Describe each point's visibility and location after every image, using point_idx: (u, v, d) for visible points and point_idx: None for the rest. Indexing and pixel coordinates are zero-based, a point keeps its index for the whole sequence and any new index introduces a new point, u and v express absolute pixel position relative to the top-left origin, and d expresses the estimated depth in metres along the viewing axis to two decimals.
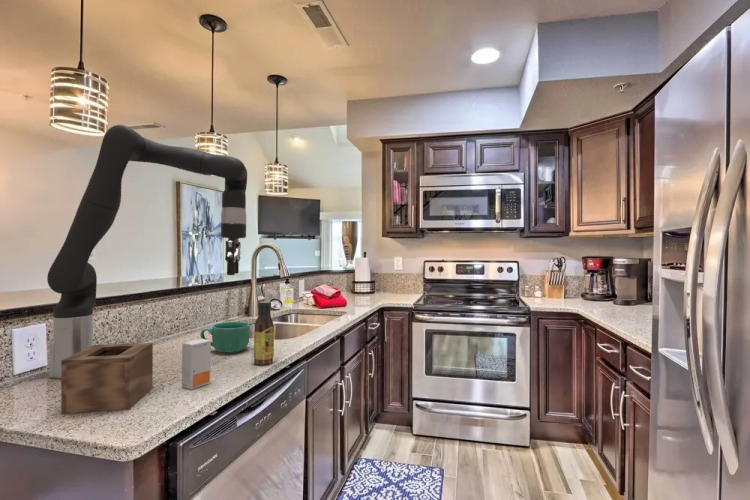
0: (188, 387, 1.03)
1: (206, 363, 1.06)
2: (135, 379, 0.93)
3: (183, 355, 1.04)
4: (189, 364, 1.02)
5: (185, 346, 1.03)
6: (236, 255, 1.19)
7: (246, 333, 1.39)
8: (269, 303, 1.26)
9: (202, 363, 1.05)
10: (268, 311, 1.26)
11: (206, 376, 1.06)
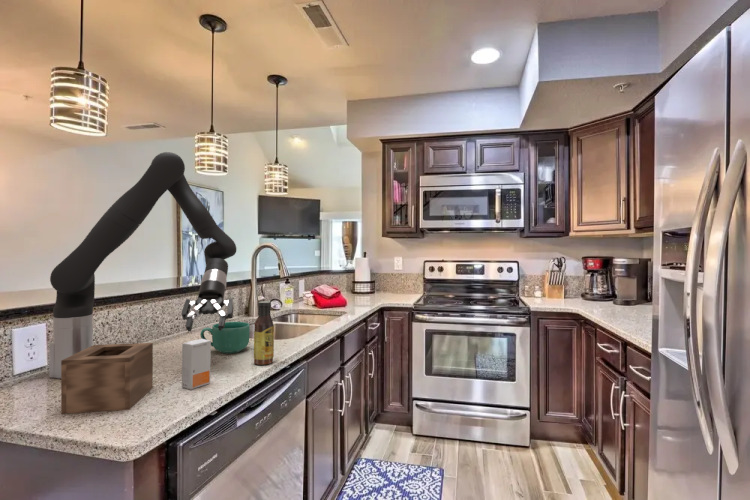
0: (188, 387, 1.03)
1: (206, 363, 1.06)
2: (135, 379, 0.93)
3: (183, 355, 1.04)
4: (189, 364, 1.02)
5: (185, 346, 1.03)
6: None
7: (246, 333, 1.39)
8: (269, 303, 1.26)
9: (202, 363, 1.05)
10: (268, 311, 1.26)
11: (206, 376, 1.06)
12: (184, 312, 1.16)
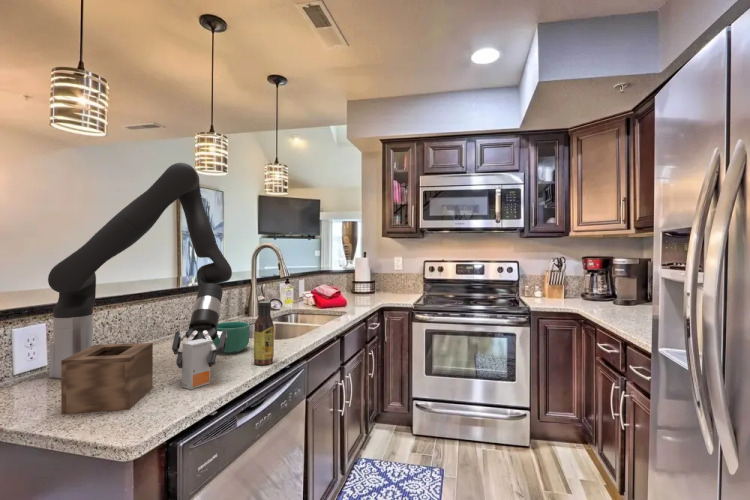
0: (188, 387, 1.03)
1: (206, 363, 1.06)
2: (135, 379, 0.93)
3: (183, 355, 1.04)
4: (189, 364, 1.02)
5: (185, 346, 1.03)
6: None
7: (246, 333, 1.39)
8: (269, 303, 1.26)
9: (202, 363, 1.05)
10: (268, 311, 1.26)
11: (206, 376, 1.06)
12: (175, 346, 1.06)
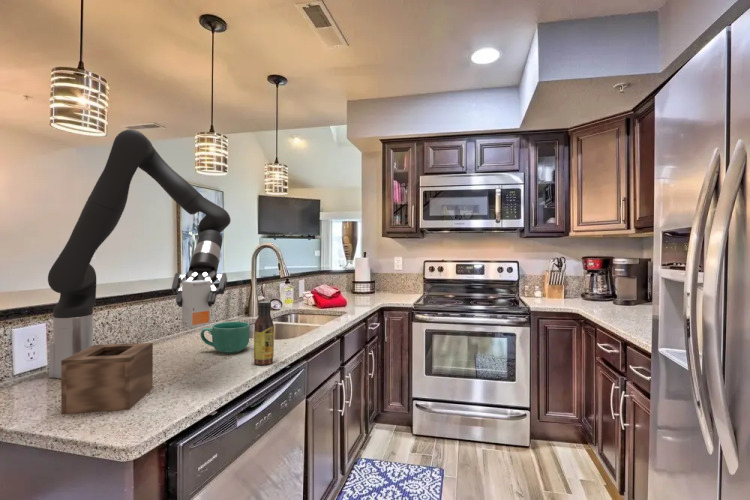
0: (188, 325, 1.03)
1: (206, 303, 1.06)
2: (135, 379, 0.93)
3: (183, 293, 1.04)
4: (189, 302, 1.02)
5: (185, 284, 1.03)
6: None
7: (246, 333, 1.39)
8: (269, 303, 1.26)
9: (202, 302, 1.05)
10: (268, 311, 1.26)
11: (206, 316, 1.06)
12: (175, 286, 1.06)
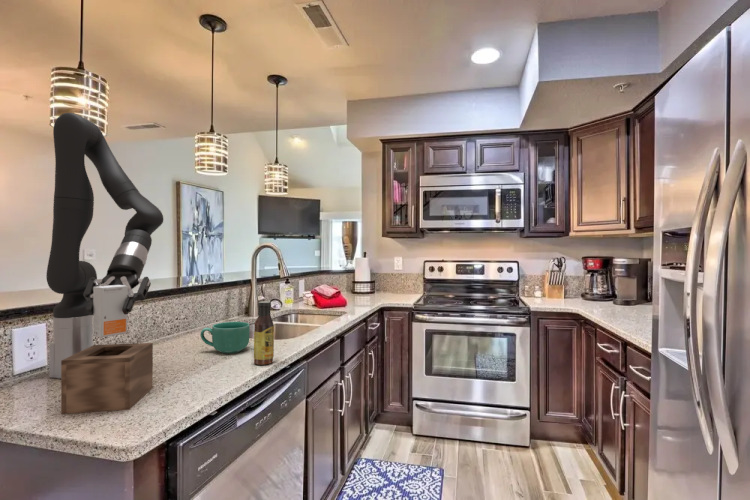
0: (99, 335, 0.92)
1: (121, 310, 0.96)
2: (135, 379, 0.93)
3: (94, 300, 0.94)
4: (99, 309, 0.92)
5: (96, 290, 0.93)
6: None
7: (246, 333, 1.39)
8: (269, 303, 1.26)
9: (116, 309, 0.95)
10: (268, 311, 1.26)
11: (122, 325, 0.96)
12: (87, 292, 0.96)
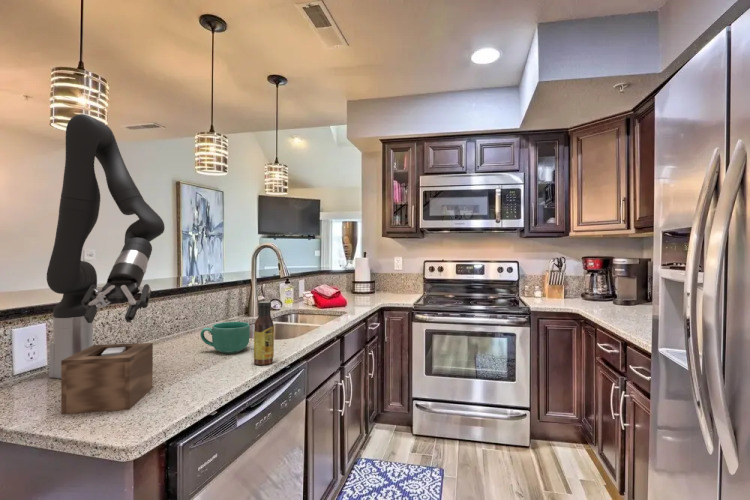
0: None
1: None
2: (135, 379, 0.93)
3: None
4: None
5: None
6: None
7: (246, 333, 1.39)
8: (269, 303, 1.26)
9: None
10: (268, 311, 1.26)
11: None
12: (85, 300, 0.96)
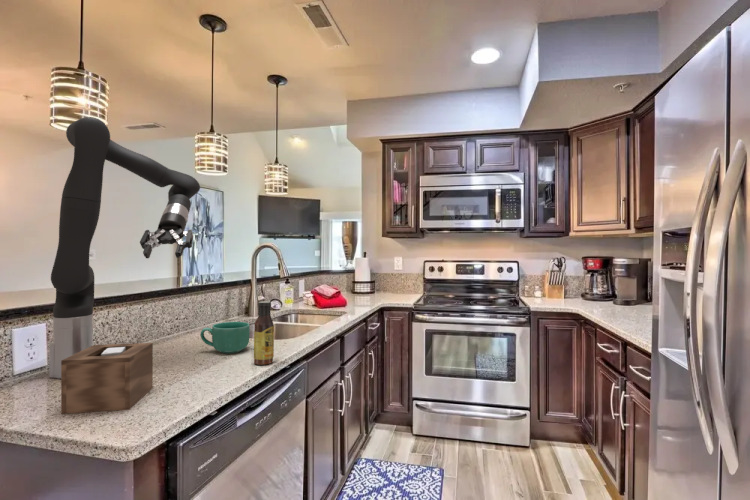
0: None
1: None
2: (135, 379, 0.93)
3: None
4: None
5: None
6: None
7: (246, 333, 1.39)
8: (269, 303, 1.26)
9: None
10: (268, 311, 1.26)
11: None
12: (142, 241, 1.18)
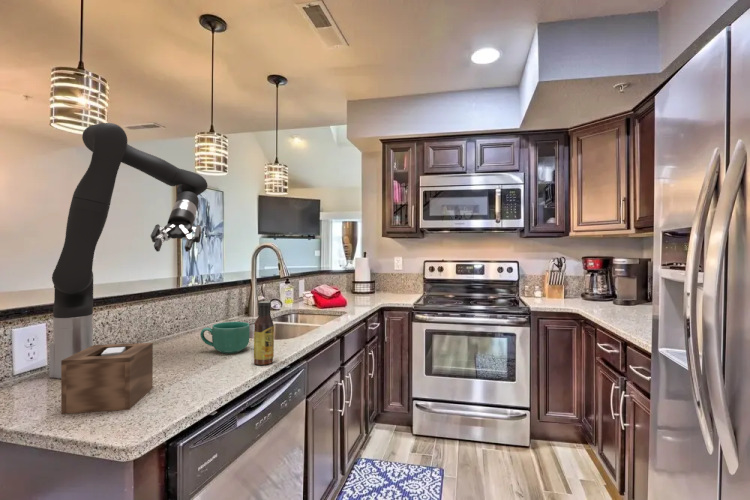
0: None
1: None
2: (135, 379, 0.93)
3: None
4: None
5: None
6: None
7: (246, 333, 1.39)
8: (269, 303, 1.26)
9: None
10: (268, 311, 1.26)
11: None
12: (153, 234, 1.23)
